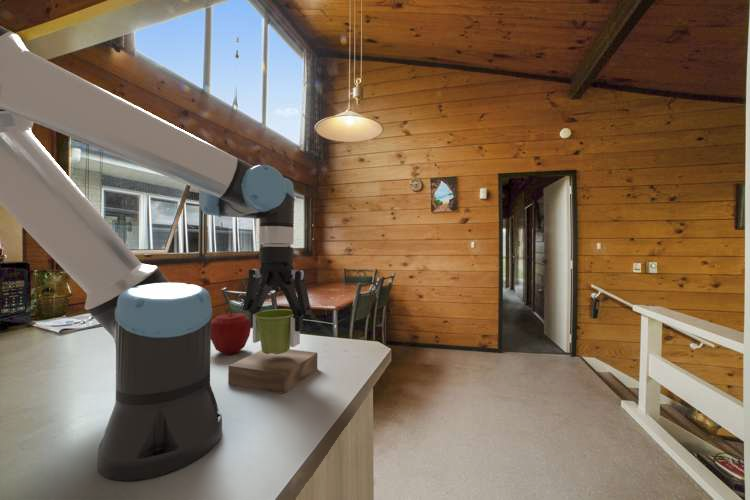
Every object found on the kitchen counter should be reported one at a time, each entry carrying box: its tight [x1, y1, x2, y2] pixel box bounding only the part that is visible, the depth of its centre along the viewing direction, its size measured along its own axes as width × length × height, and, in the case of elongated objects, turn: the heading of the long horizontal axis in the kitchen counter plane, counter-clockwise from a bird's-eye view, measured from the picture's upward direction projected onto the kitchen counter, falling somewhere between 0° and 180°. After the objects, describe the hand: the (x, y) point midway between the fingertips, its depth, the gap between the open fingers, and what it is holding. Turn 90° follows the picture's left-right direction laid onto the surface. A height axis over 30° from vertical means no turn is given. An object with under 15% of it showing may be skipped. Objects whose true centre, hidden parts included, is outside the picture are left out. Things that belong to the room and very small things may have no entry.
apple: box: [211, 311, 252, 355], centre depth 89 cm, size 11×11×12 cm
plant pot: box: [255, 308, 294, 354], centre depth 72 cm, size 9×9×9 cm
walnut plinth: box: [227, 349, 318, 394], centre depth 72 cm, size 14×14×4 cm
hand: (276, 343), depth 72 cm, fingers closed on plant pot, 9 cm apart
